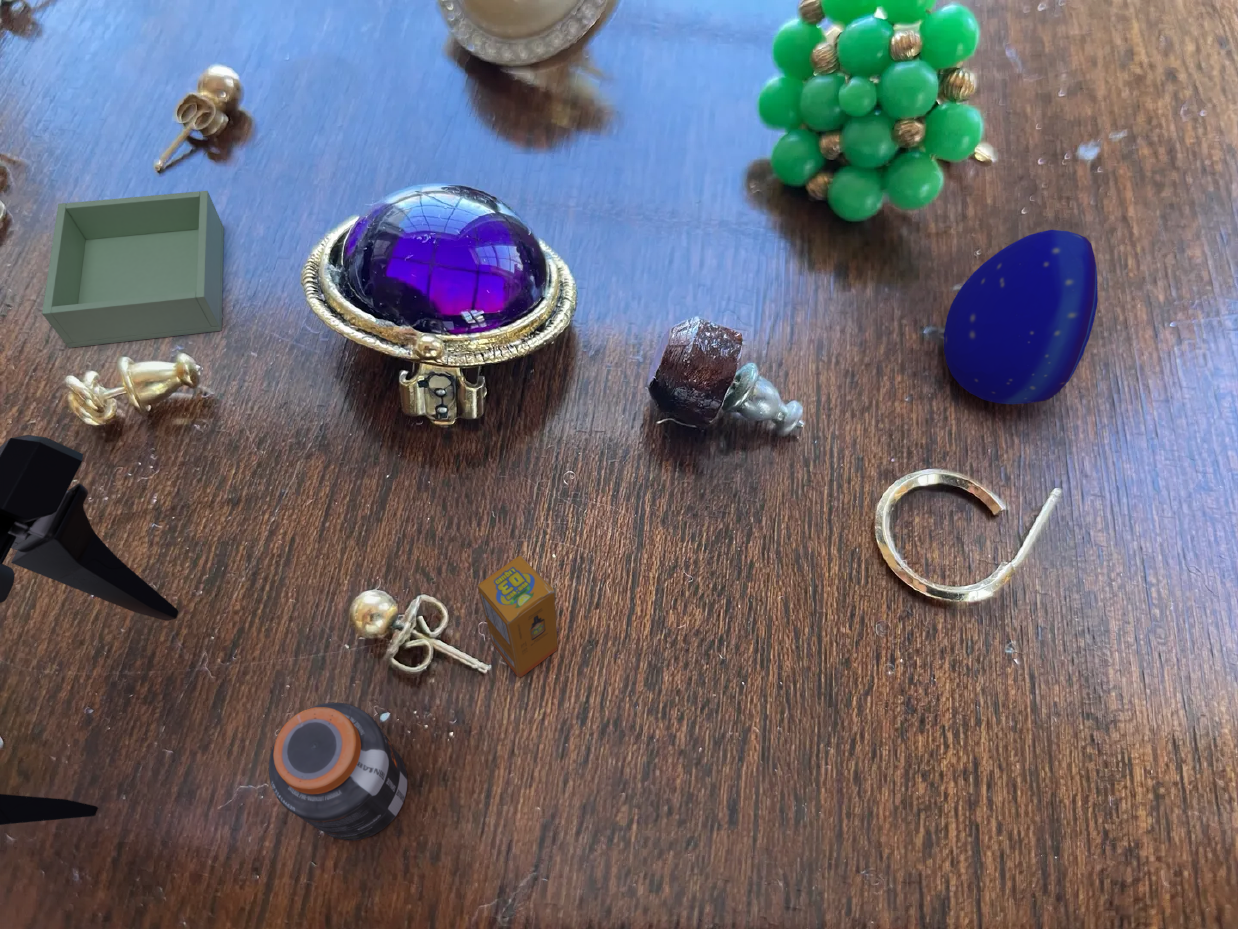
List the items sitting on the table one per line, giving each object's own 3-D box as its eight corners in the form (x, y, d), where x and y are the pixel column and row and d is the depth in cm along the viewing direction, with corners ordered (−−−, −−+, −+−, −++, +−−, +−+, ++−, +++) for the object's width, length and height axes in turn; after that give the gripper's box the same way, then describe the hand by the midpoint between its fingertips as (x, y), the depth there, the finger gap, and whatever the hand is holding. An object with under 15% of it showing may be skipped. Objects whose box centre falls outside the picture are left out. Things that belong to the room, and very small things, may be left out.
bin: (68, 348, 67) (41, 313, 64) (82, 240, 72) (57, 203, 69) (221, 331, 69) (204, 296, 65) (224, 227, 74) (207, 190, 71)
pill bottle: (428, 771, 54) (400, 727, 44) (366, 862, 51) (322, 837, 41) (350, 719, 55) (306, 665, 45) (286, 806, 52) (224, 768, 42)
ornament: (1046, 437, 69) (1160, 314, 56) (930, 423, 69) (1018, 297, 56) (1027, 327, 74) (1127, 192, 61) (920, 314, 74) (997, 176, 61)
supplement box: (527, 611, 59) (523, 549, 50) (559, 650, 58) (560, 594, 49) (487, 640, 58) (475, 583, 49) (518, 681, 57) (512, 629, 48)
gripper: (-498, 874, 22) (120, 950, 32) (-97, 308, 31) (287, 496, 41) (-481, 860, 29) (21, 925, 38) (-156, 399, 38) (184, 542, 48)
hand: (136, 708), depth 41 cm, fingers open, 9 cm apart
